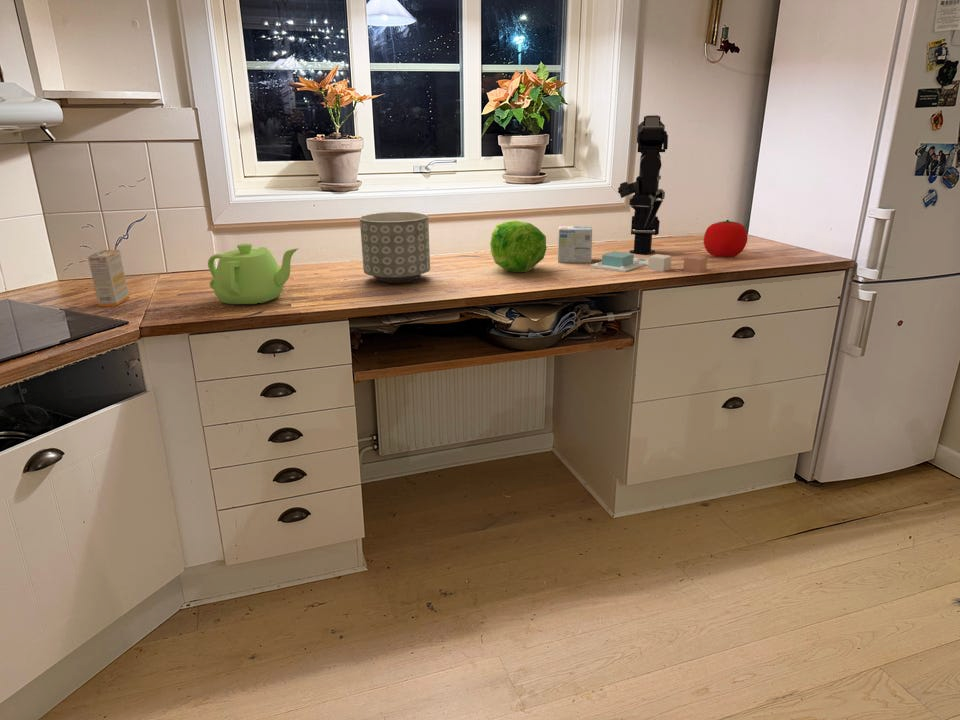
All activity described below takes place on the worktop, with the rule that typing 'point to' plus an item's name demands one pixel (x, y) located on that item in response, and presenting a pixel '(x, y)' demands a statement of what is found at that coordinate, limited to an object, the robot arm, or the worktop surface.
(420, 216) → the planter
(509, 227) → the lettuce
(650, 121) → the robot arm
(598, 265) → the build plate
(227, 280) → the teapot
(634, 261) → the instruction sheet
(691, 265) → the rust brick
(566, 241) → the light bulb box
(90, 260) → the supplement box
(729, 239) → the tomato
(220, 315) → the worktop surface
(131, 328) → the worktop surface
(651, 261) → the cream brick
